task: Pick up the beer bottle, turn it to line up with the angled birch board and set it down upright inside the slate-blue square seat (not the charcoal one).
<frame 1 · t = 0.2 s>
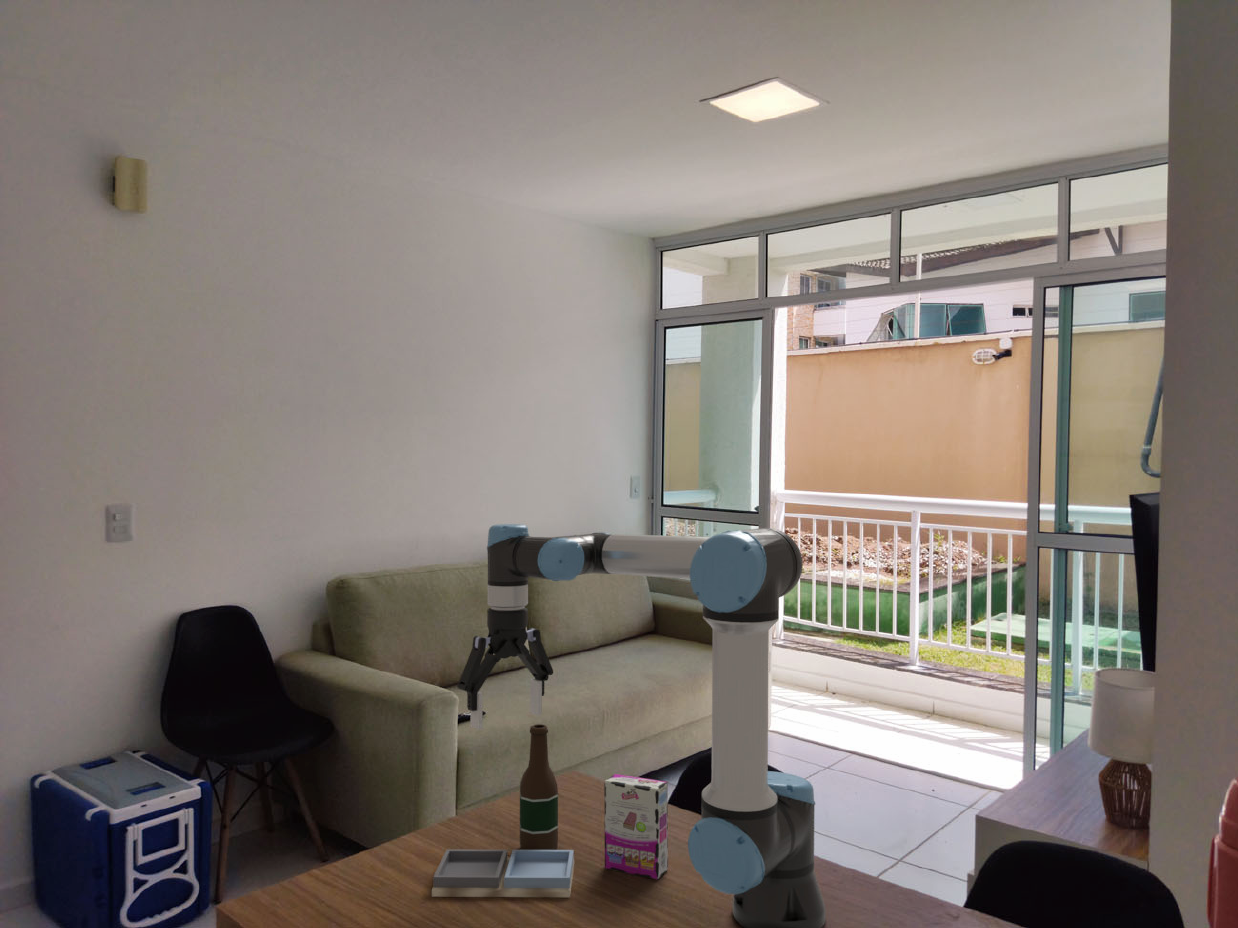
hand: (506, 720, 165), 27 cm above the table, fingers open, 13 cm apart
beer bottle: (538, 849, 173), on the table
candy bar box: (636, 870, 164), on the table
seat blue: (540, 873, 160), resting on board
board: (505, 879, 160), on the table
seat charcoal: (471, 872, 160), resting on board
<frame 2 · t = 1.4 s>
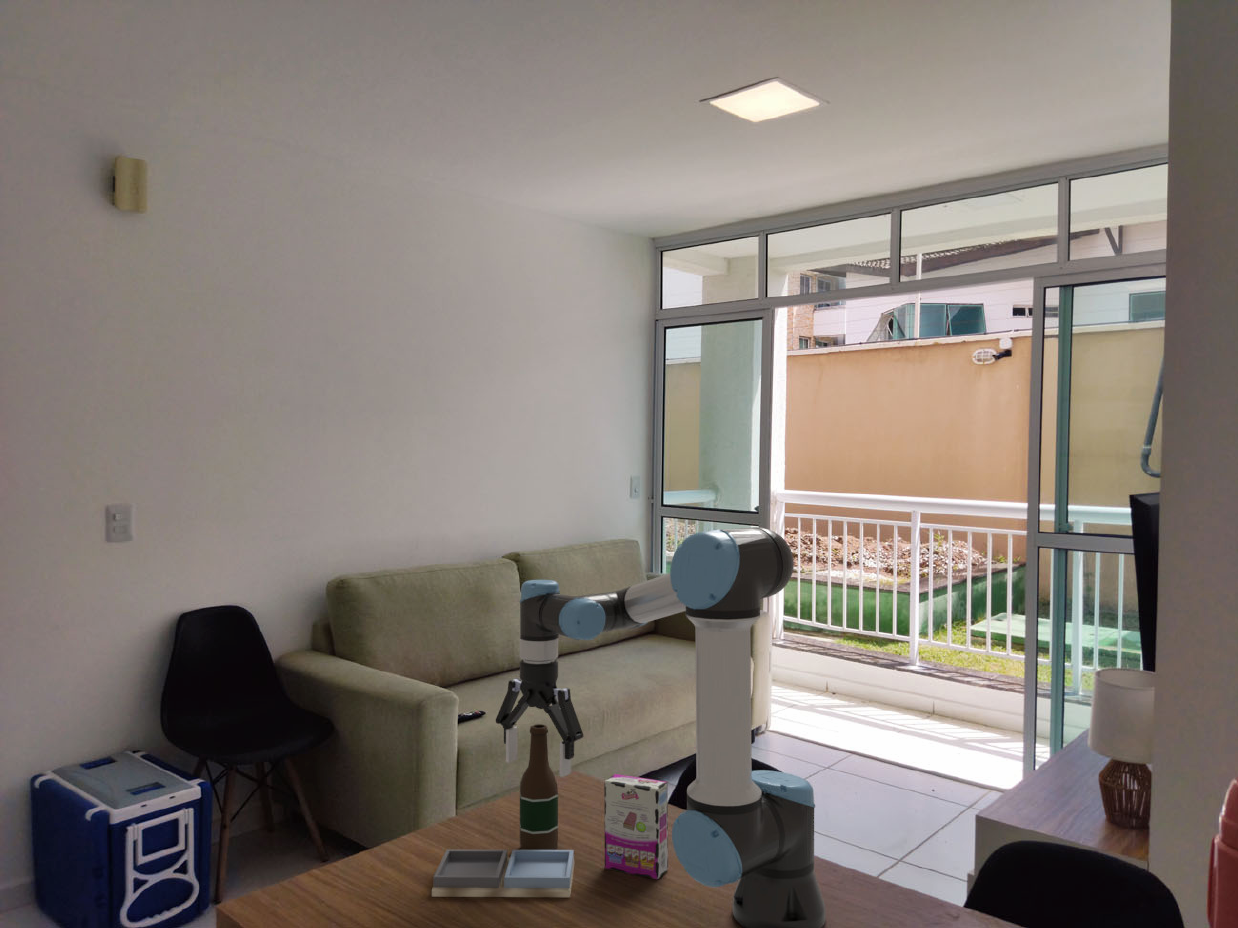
hand: (537, 767, 173), 16 cm above the table, fingers open, 13 cm apart
nothing on the table moved.
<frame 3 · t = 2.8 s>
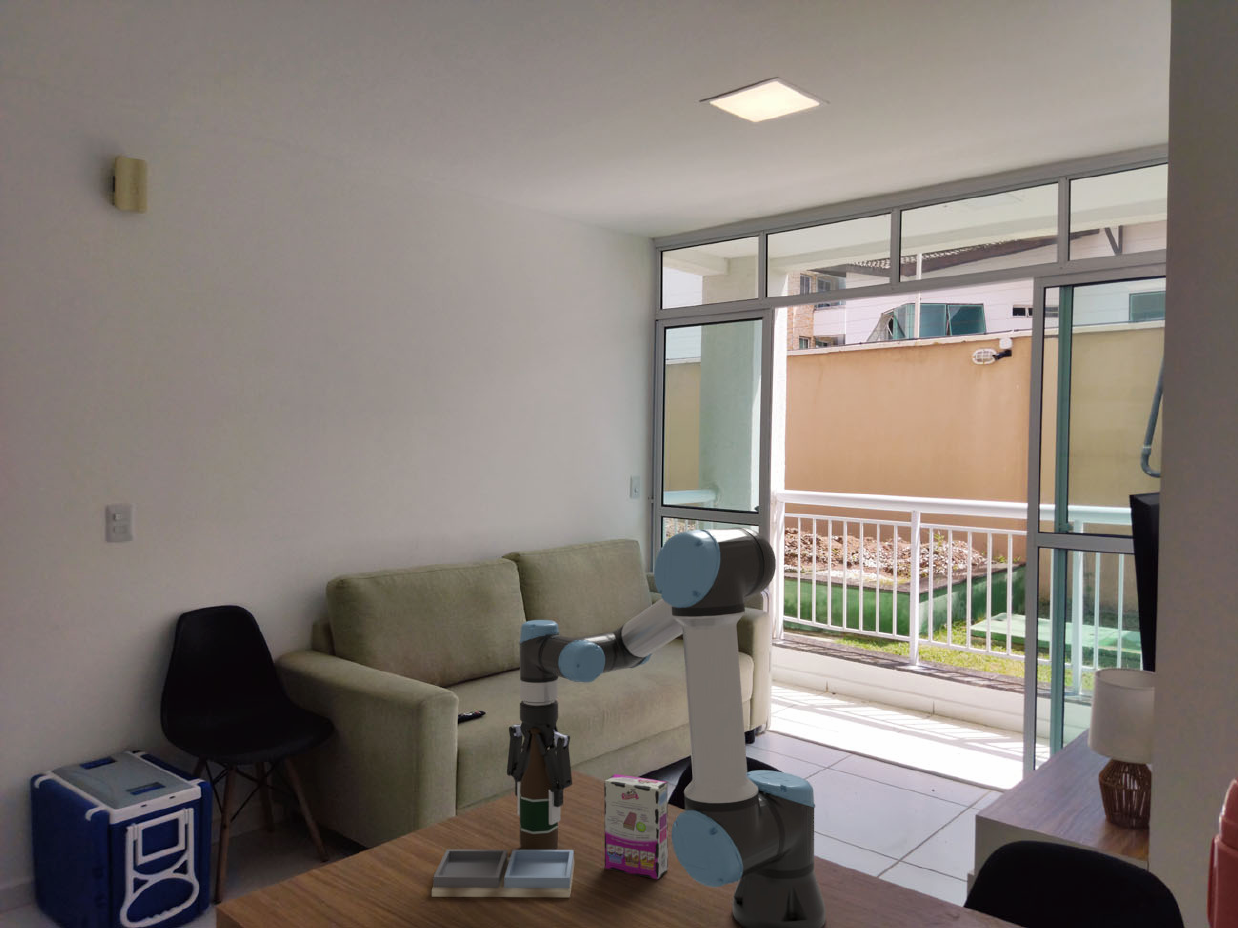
hand: (538, 817, 173), 6 cm above the table, fingers closed on beer bottle, 7 cm apart
beer bottle: (538, 849, 173), on the table, touching gripper
everything else where it was.
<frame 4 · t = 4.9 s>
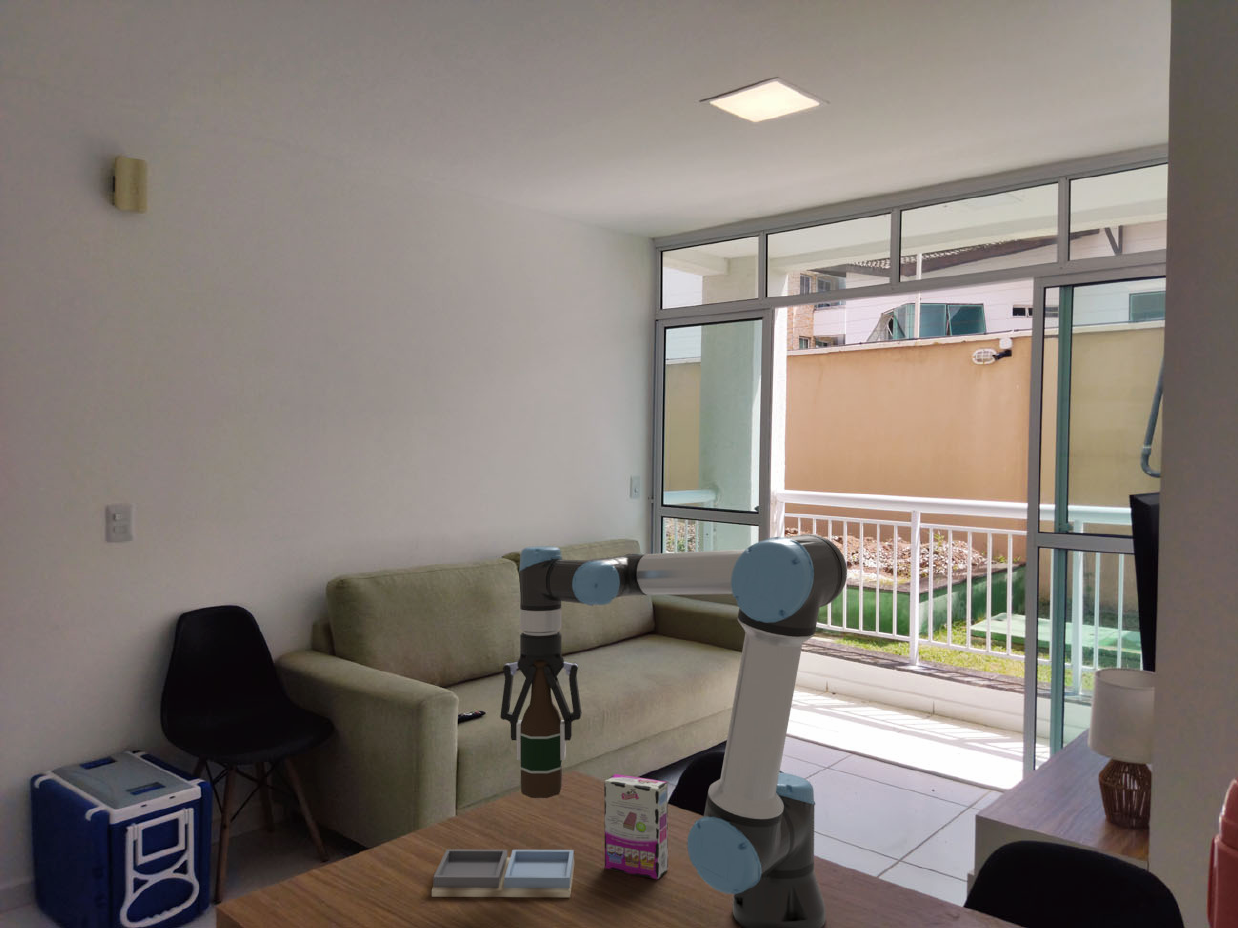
hand: (541, 757, 161), 22 cm above the table, fingers closed on beer bottle, 7 cm apart
beer bottle: (541, 792, 161), point 15 cm above the table, touching gripper
everything else where it was.
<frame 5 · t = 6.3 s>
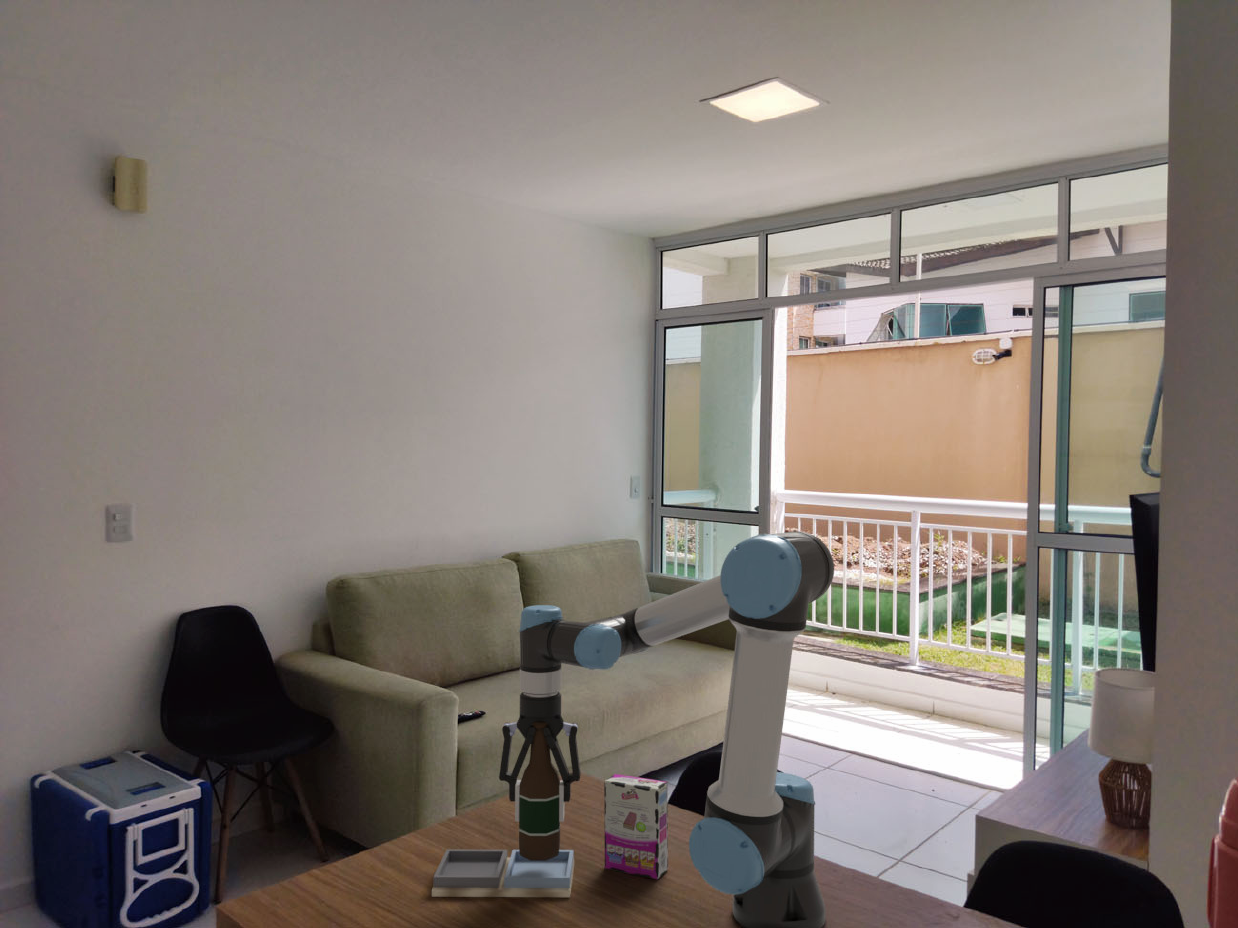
hand: (539, 818, 160), 11 cm above the table, fingers closed on beer bottle, 7 cm apart
beer bottle: (539, 853, 160), point 5 cm above the table, touching gripper
everything else where it was.
when the fingers open (8 cm above the table, at t = 7.1 s): beer bottle stays where it is, resting on seat blue.
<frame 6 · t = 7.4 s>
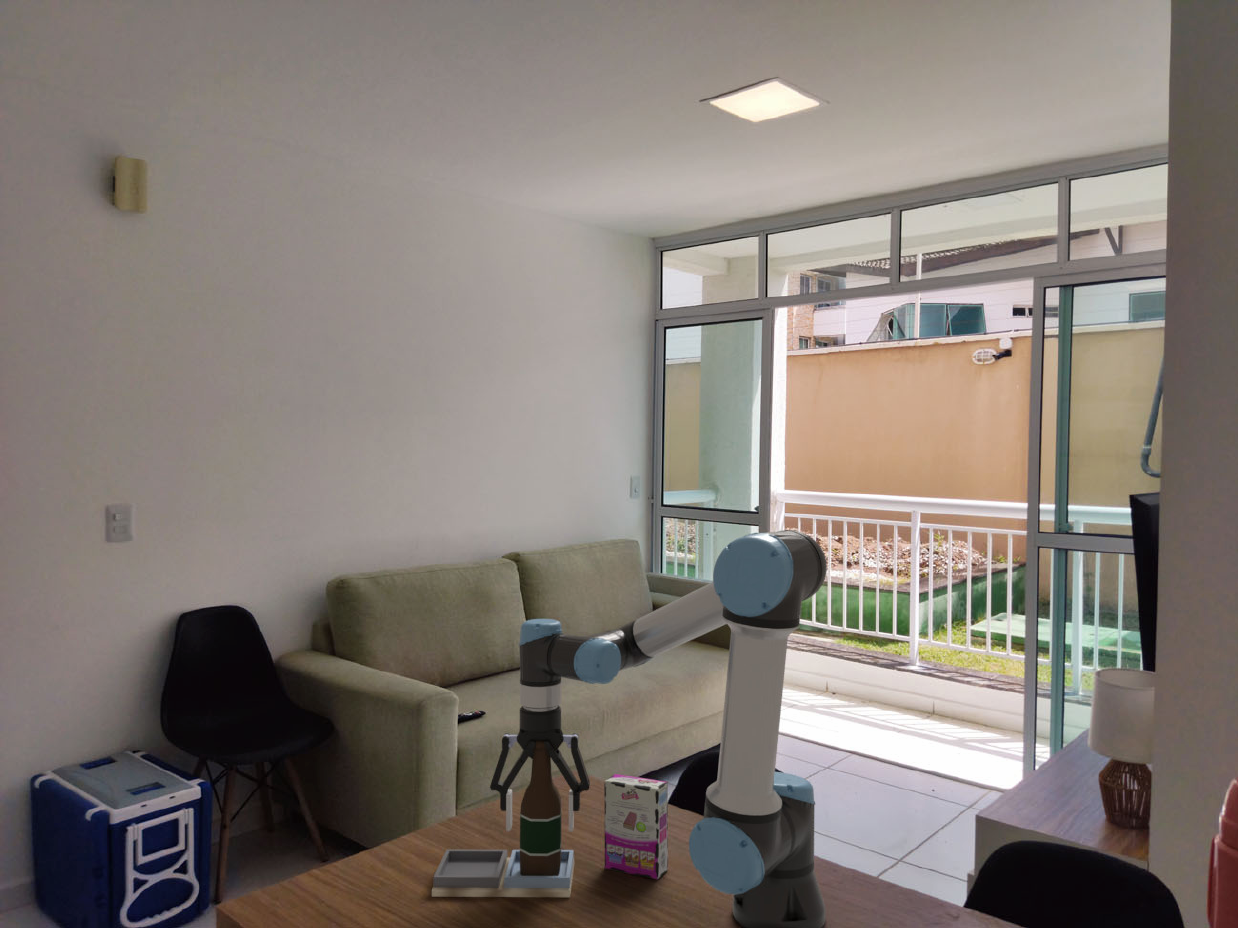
hand: (540, 828, 160), 9 cm above the table, fingers open, 10 cm apart
beer bottle: (540, 872, 160), point 1 cm above the table, touching seat blue
everything else where it was.
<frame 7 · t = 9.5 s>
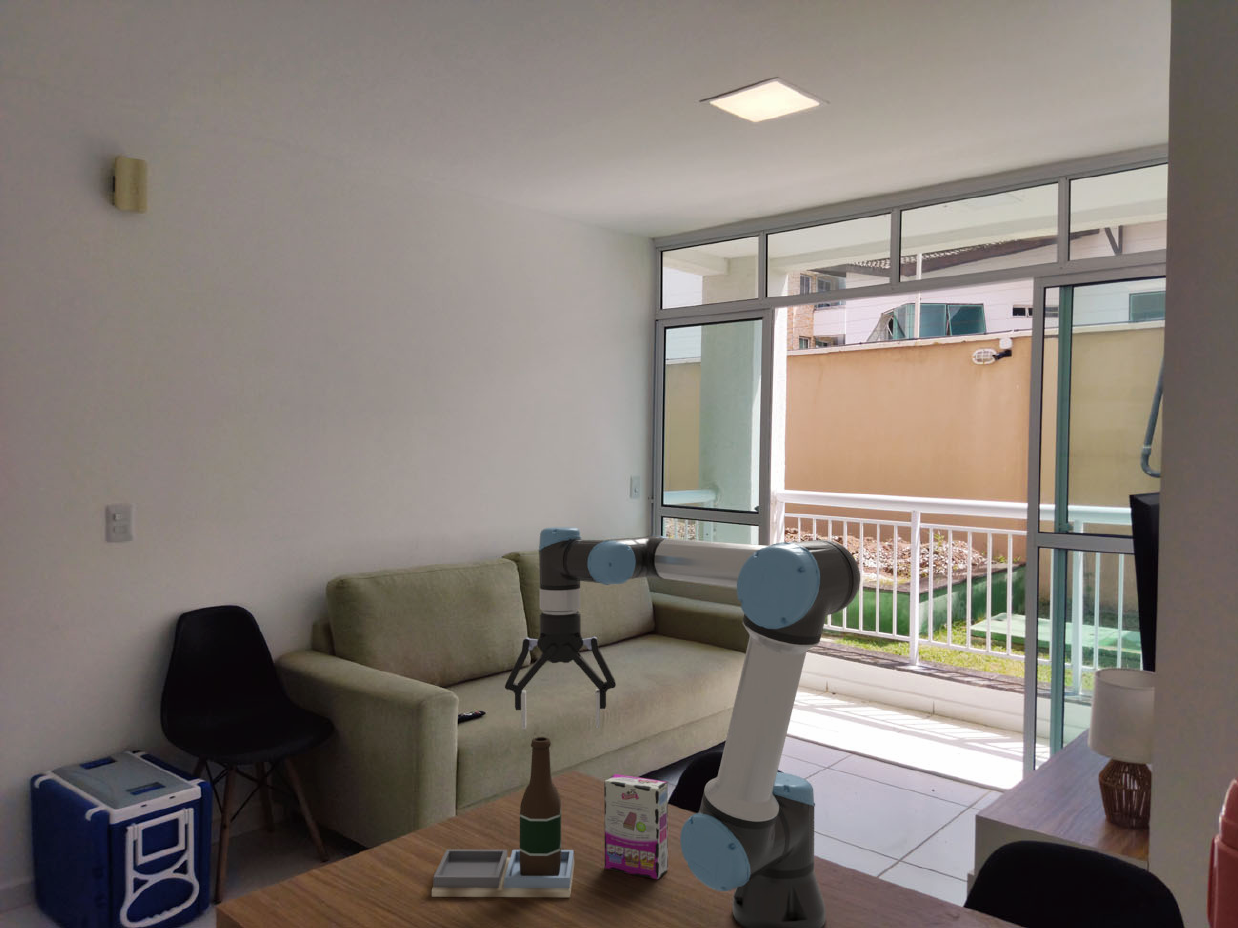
hand: (560, 727, 163), 27 cm above the table, fingers open, 13 cm apart
nothing on the table moved.
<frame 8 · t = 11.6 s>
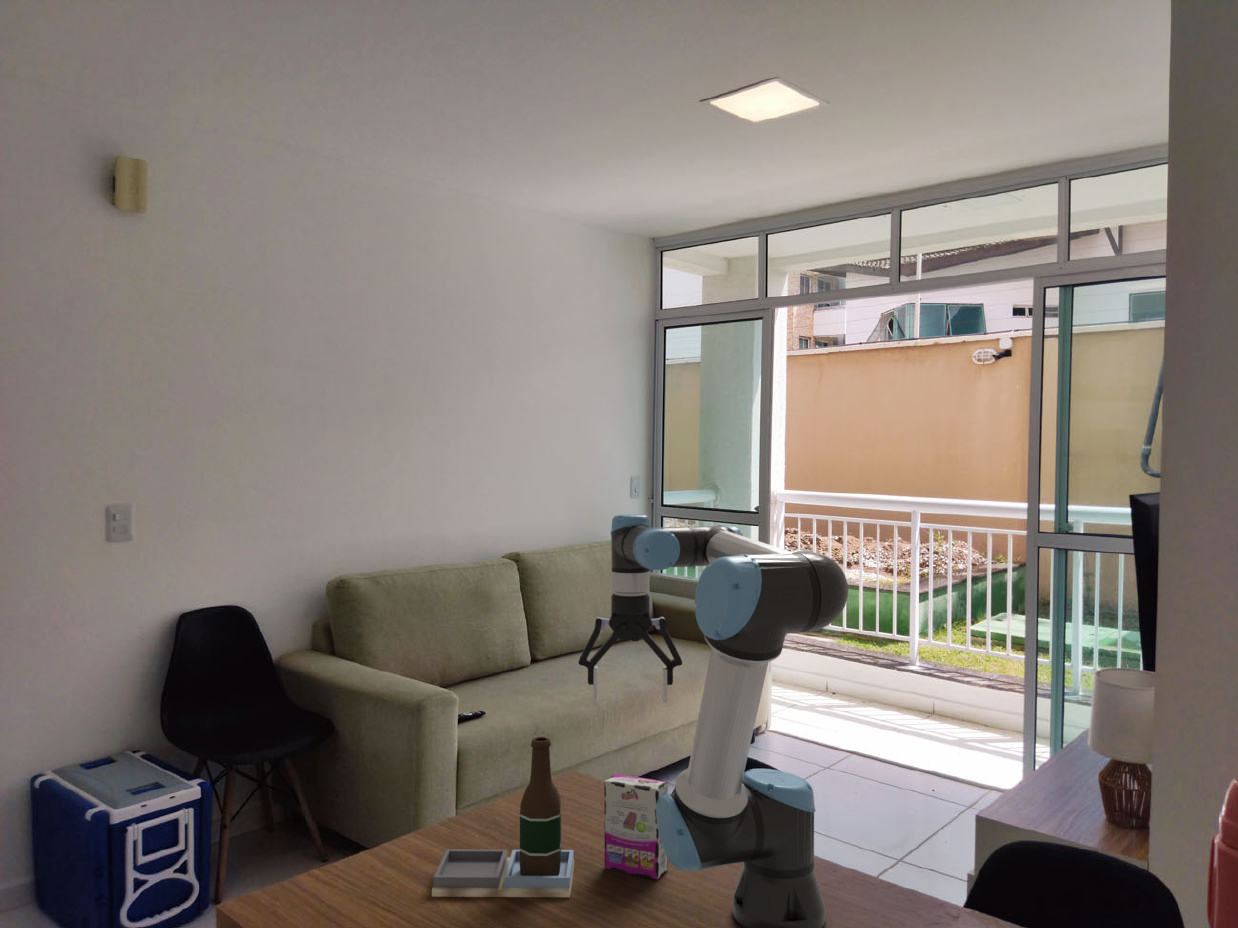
hand: (630, 701, 174), 29 cm above the table, fingers open, 13 cm apart
nothing on the table moved.
at the end: beer bottle 0.1 cm from the seat blue (horizontally); beer bottle tilted 0°; beer bottle point 1.2 cm above the table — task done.
